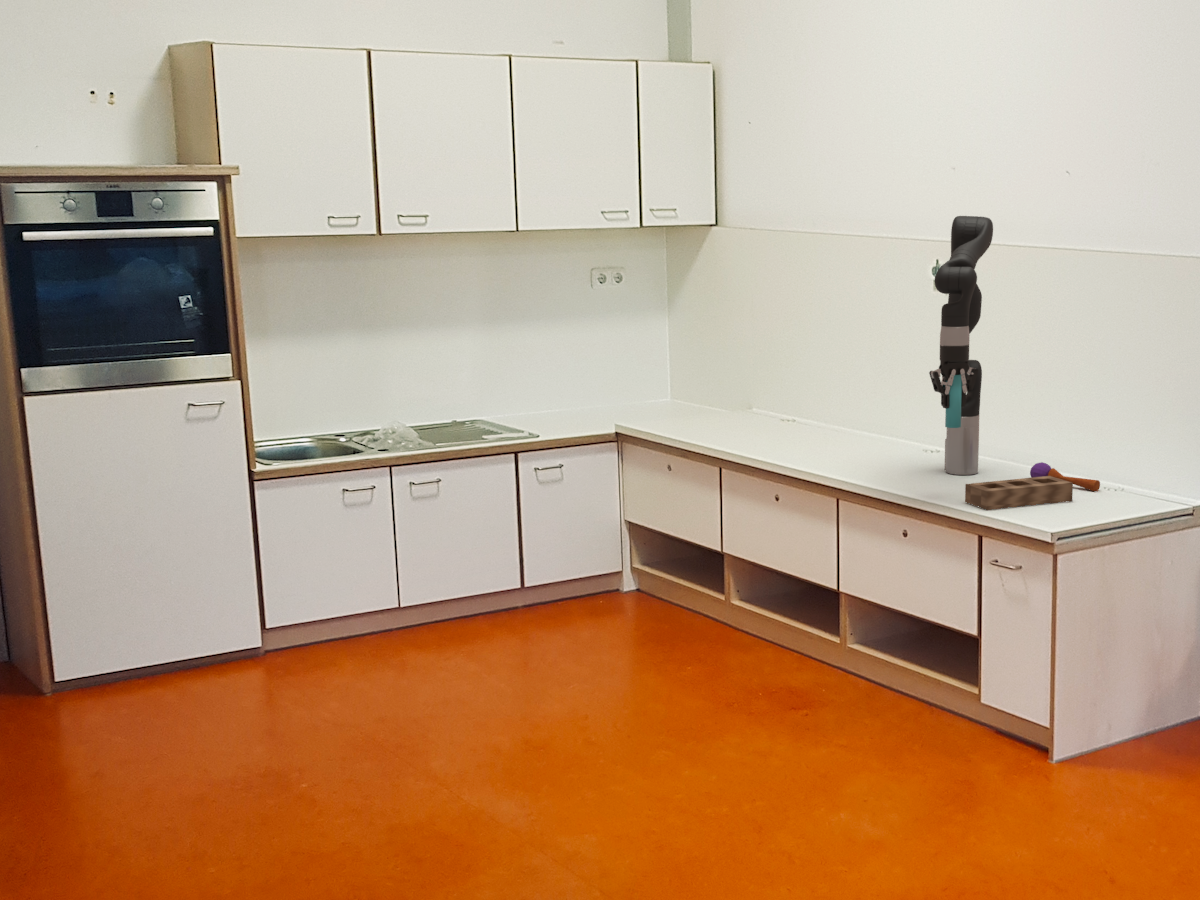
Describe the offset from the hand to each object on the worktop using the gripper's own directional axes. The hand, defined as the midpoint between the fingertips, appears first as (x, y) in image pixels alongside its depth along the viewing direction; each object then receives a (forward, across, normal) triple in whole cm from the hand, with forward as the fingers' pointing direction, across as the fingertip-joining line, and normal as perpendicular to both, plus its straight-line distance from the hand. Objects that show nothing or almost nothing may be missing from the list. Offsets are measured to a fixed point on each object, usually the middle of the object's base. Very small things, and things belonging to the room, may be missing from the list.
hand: (953, 407), depth 355 cm
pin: (+5, 0, 0) cm, 5 cm away
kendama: (+26, -37, -2) cm, 45 cm away
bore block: (+25, -14, +10) cm, 30 cm away
